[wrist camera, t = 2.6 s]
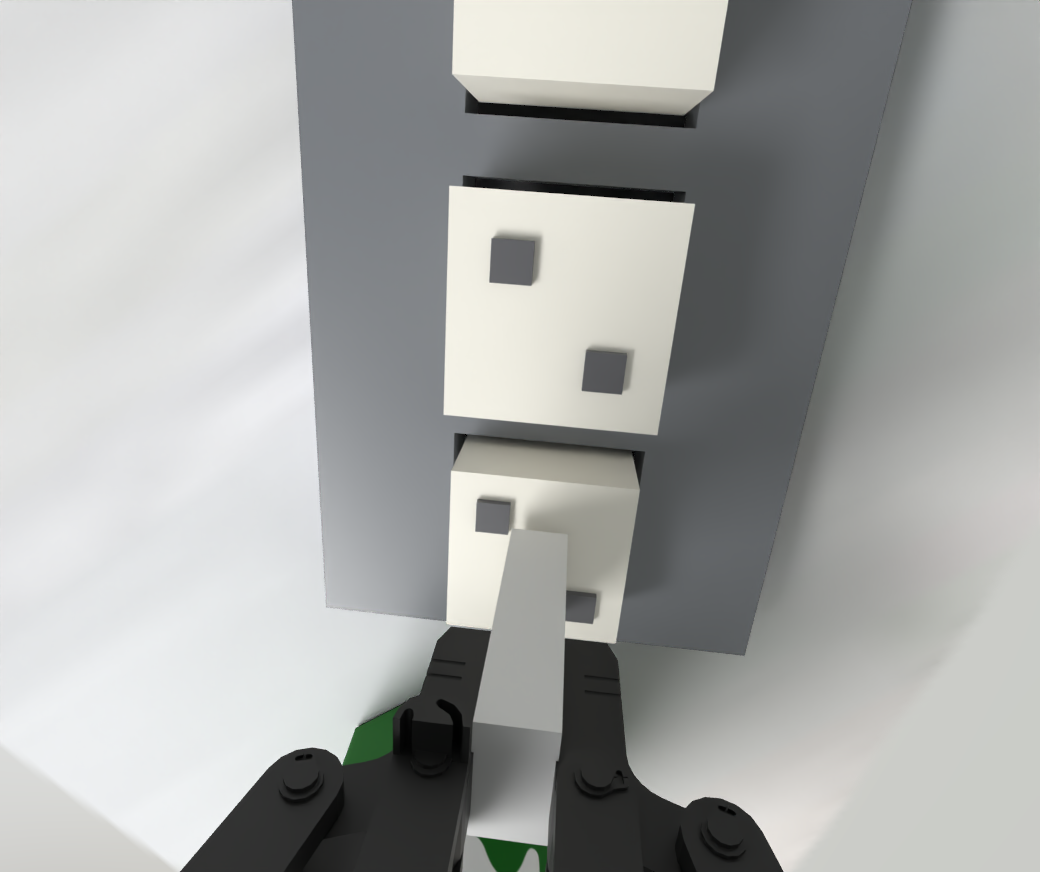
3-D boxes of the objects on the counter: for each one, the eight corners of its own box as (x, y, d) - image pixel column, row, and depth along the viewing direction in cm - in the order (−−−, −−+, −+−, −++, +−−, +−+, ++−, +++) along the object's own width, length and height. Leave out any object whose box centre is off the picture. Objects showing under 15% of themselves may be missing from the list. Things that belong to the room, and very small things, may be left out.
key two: (475, 188, 16) (447, 185, 12) (670, 203, 15) (696, 203, 12) (468, 375, 18) (441, 417, 14) (642, 391, 17) (658, 438, 14)
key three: (472, 425, 19) (449, 473, 16) (629, 440, 19) (640, 493, 16) (466, 559, 21) (444, 628, 18) (609, 575, 21) (616, 648, 18)
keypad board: (315, -208, 14) (277, -268, 13) (921, -185, 14) (975, -246, 12) (346, 573, 22) (325, 607, 21) (730, 616, 22) (744, 655, 20)
